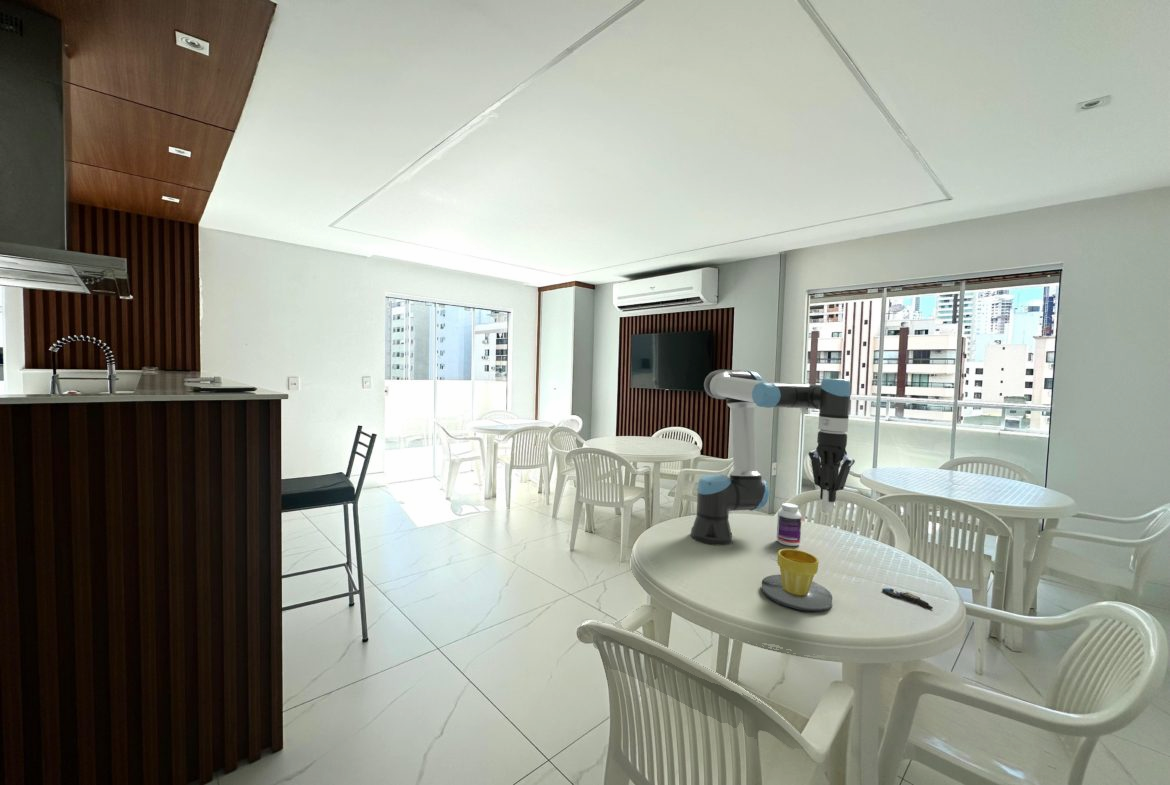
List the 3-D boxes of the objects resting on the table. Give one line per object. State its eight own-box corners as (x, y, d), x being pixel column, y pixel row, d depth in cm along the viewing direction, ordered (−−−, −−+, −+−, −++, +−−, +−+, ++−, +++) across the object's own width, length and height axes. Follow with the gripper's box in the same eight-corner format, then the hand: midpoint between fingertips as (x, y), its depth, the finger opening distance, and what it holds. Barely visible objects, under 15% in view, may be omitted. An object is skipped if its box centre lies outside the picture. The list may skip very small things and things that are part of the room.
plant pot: (824, 594, 123) (826, 559, 123) (799, 602, 119) (802, 565, 118) (792, 578, 132) (794, 546, 132) (767, 585, 128) (769, 551, 127)
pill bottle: (803, 547, 163) (806, 508, 163) (781, 546, 164) (784, 507, 163) (794, 539, 172) (796, 502, 171) (772, 538, 172) (775, 501, 171)
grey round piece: (760, 601, 121) (761, 579, 121) (762, 568, 142) (763, 550, 142) (836, 617, 114) (837, 594, 114) (826, 580, 135) (827, 561, 135)
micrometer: (880, 586, 131) (892, 584, 133) (880, 593, 131) (891, 591, 133) (923, 606, 120) (935, 604, 122) (922, 613, 120) (935, 610, 122)
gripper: (803, 429, 134) (798, 506, 135) (846, 435, 122) (840, 520, 124) (820, 428, 137) (814, 504, 139) (862, 434, 126) (856, 517, 127)
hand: (826, 511), depth 131 cm, fingers closed
